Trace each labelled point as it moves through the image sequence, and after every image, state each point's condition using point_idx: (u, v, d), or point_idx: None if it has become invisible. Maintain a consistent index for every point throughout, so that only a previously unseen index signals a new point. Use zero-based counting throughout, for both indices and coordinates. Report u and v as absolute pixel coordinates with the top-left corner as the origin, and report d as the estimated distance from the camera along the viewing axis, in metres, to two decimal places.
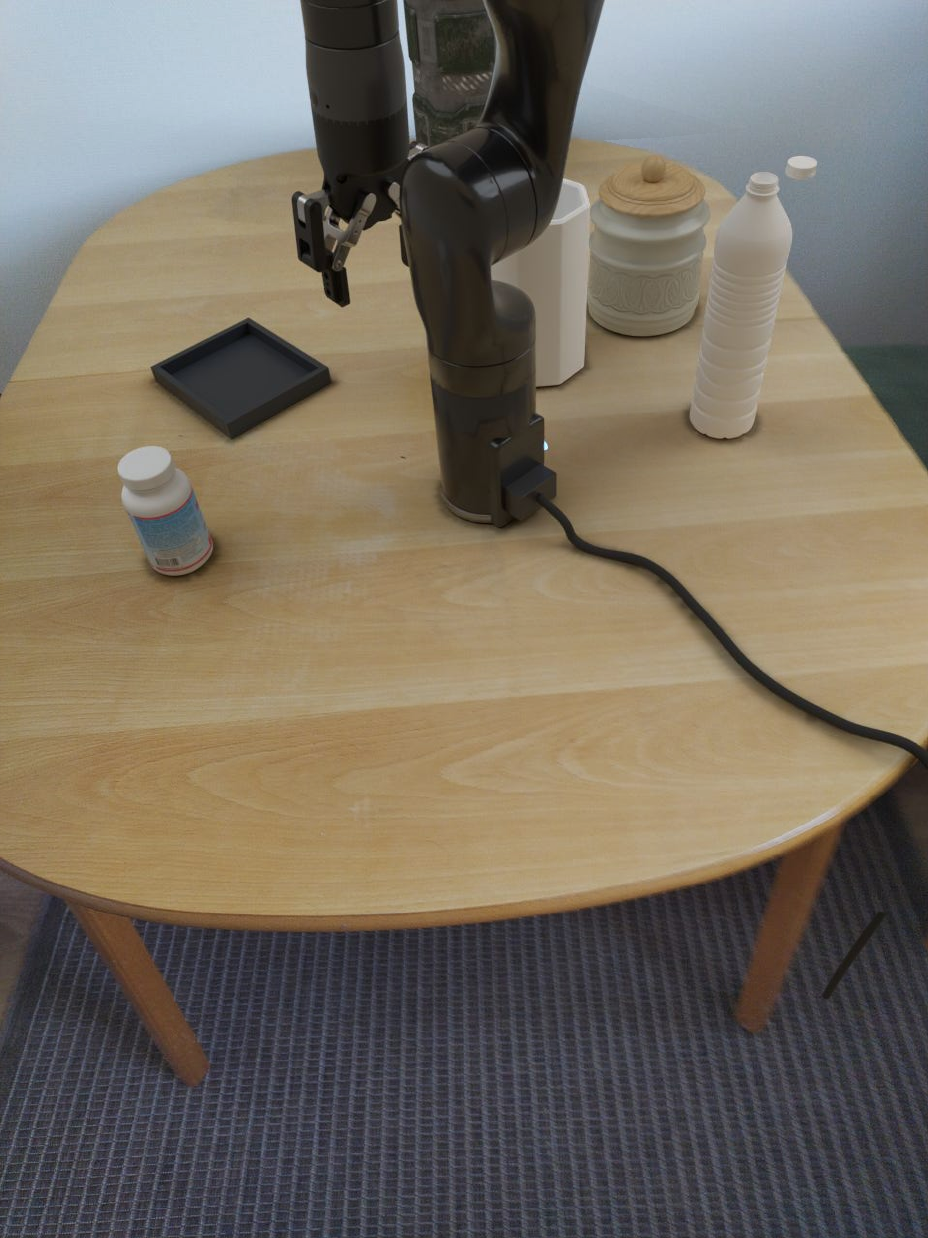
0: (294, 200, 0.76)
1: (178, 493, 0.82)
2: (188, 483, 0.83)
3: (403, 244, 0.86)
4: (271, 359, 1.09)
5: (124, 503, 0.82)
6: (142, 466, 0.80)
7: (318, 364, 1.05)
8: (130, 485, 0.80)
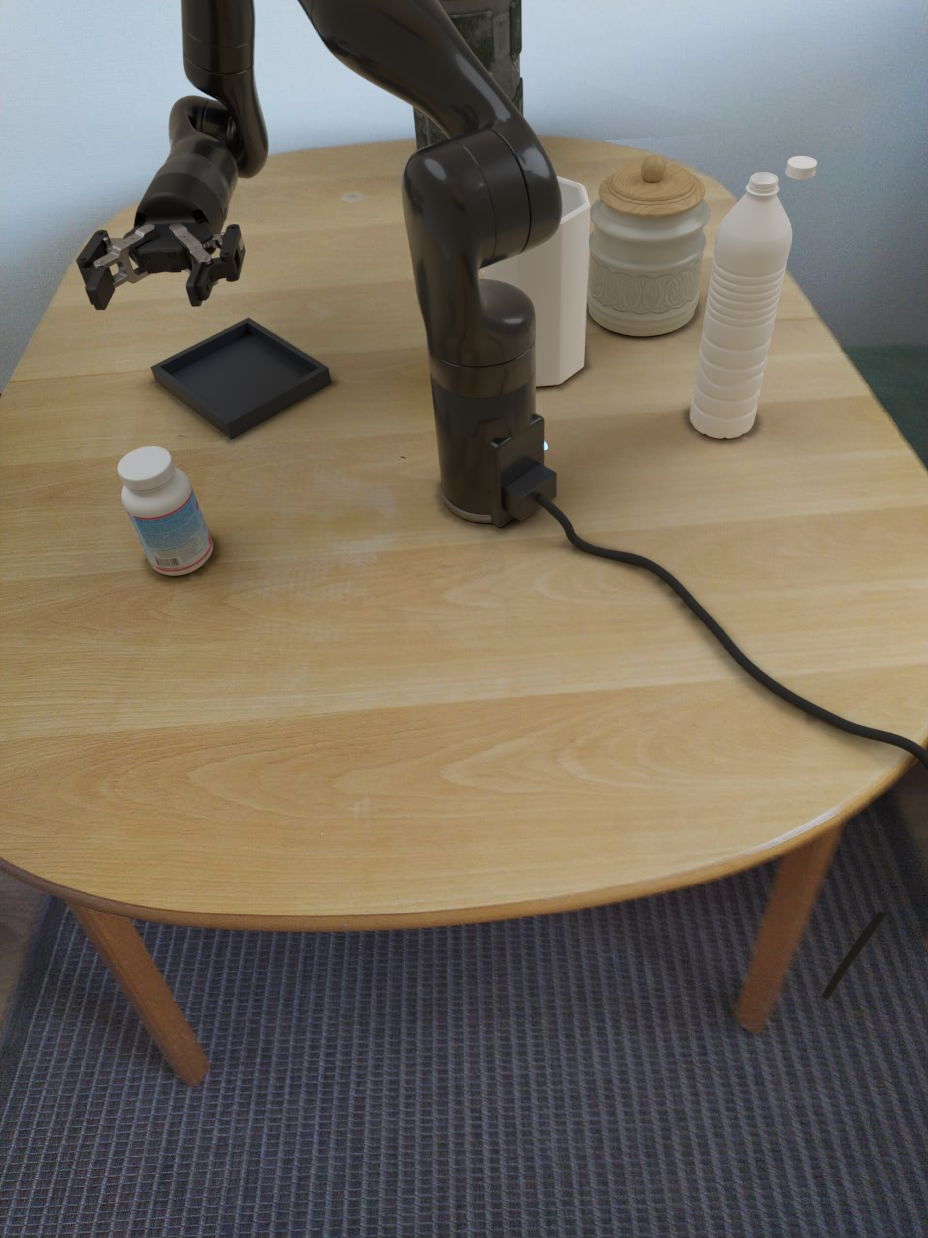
0: None
1: (178, 493, 0.82)
2: (188, 483, 0.83)
3: None
4: (271, 359, 1.09)
5: (124, 503, 0.82)
6: (142, 466, 0.80)
7: (318, 364, 1.05)
8: (130, 485, 0.80)
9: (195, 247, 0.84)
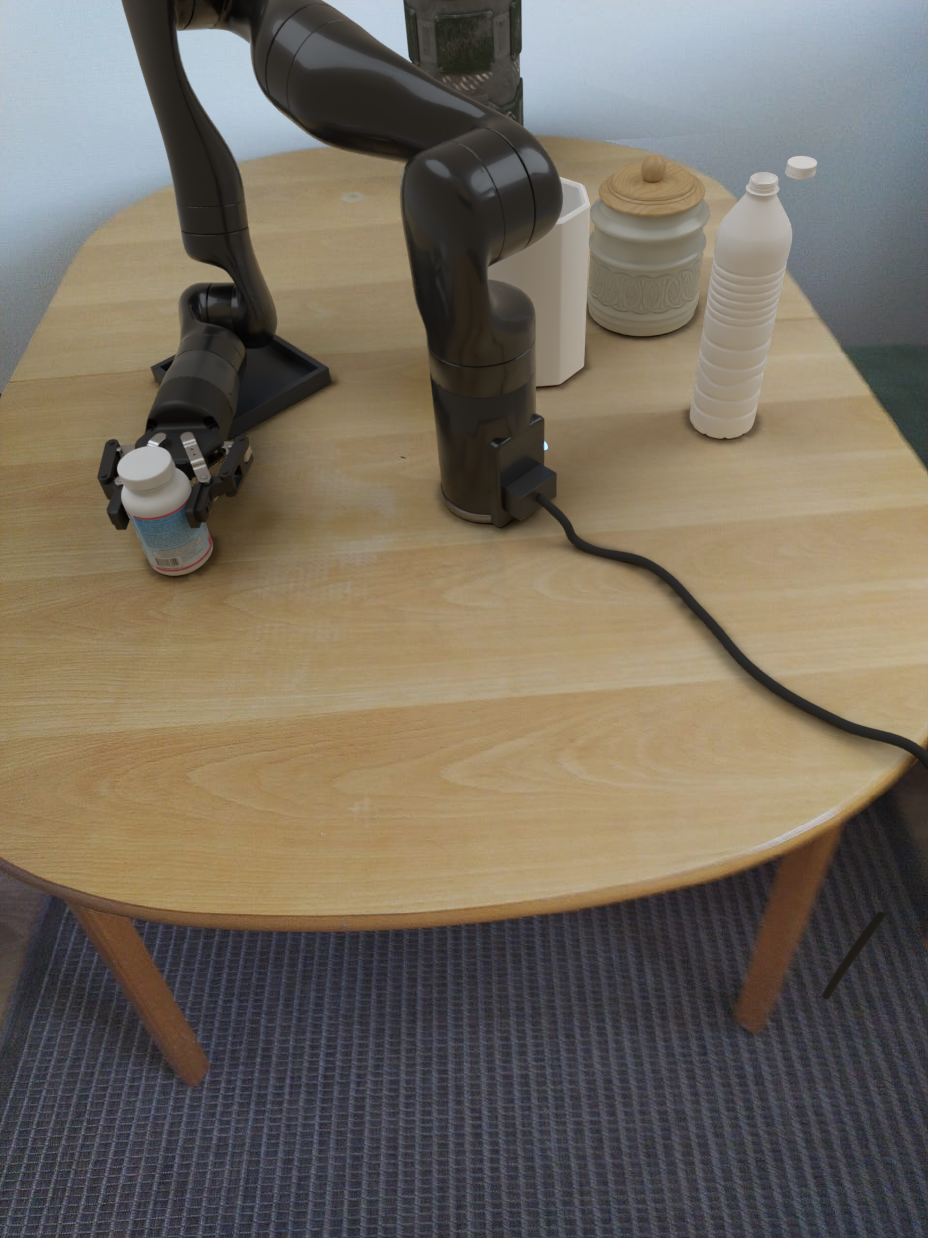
0: None
1: (177, 493, 0.82)
2: (188, 483, 0.83)
3: None
4: (271, 359, 1.09)
5: (124, 503, 0.82)
6: (142, 466, 0.80)
7: (318, 364, 1.05)
8: (130, 485, 0.80)
9: (198, 464, 0.85)
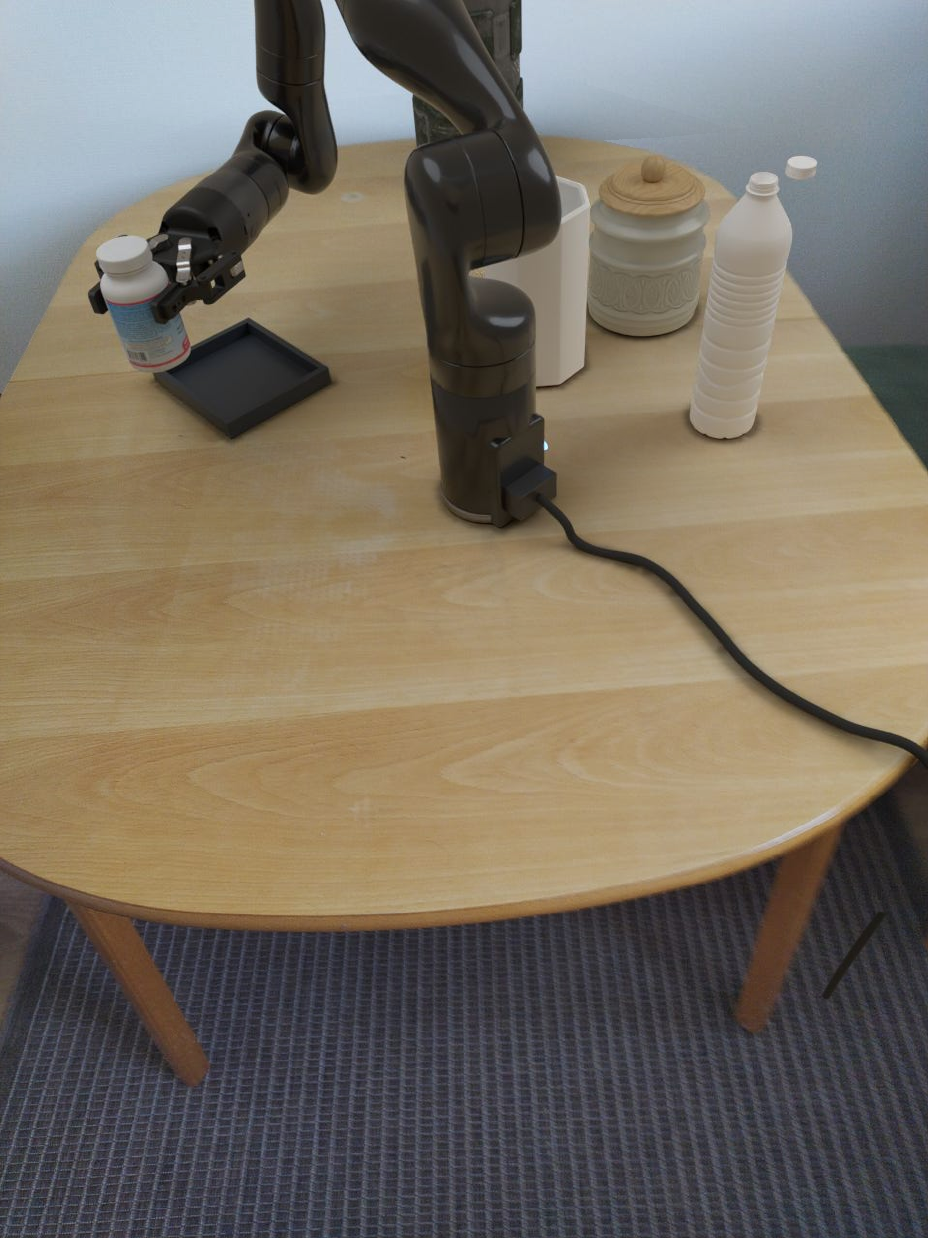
0: None
1: (147, 284, 0.84)
2: (163, 279, 0.85)
3: None
4: (271, 359, 1.09)
5: (100, 286, 0.85)
6: (118, 251, 0.83)
7: (318, 364, 1.05)
8: (102, 266, 0.83)
9: (183, 266, 0.87)
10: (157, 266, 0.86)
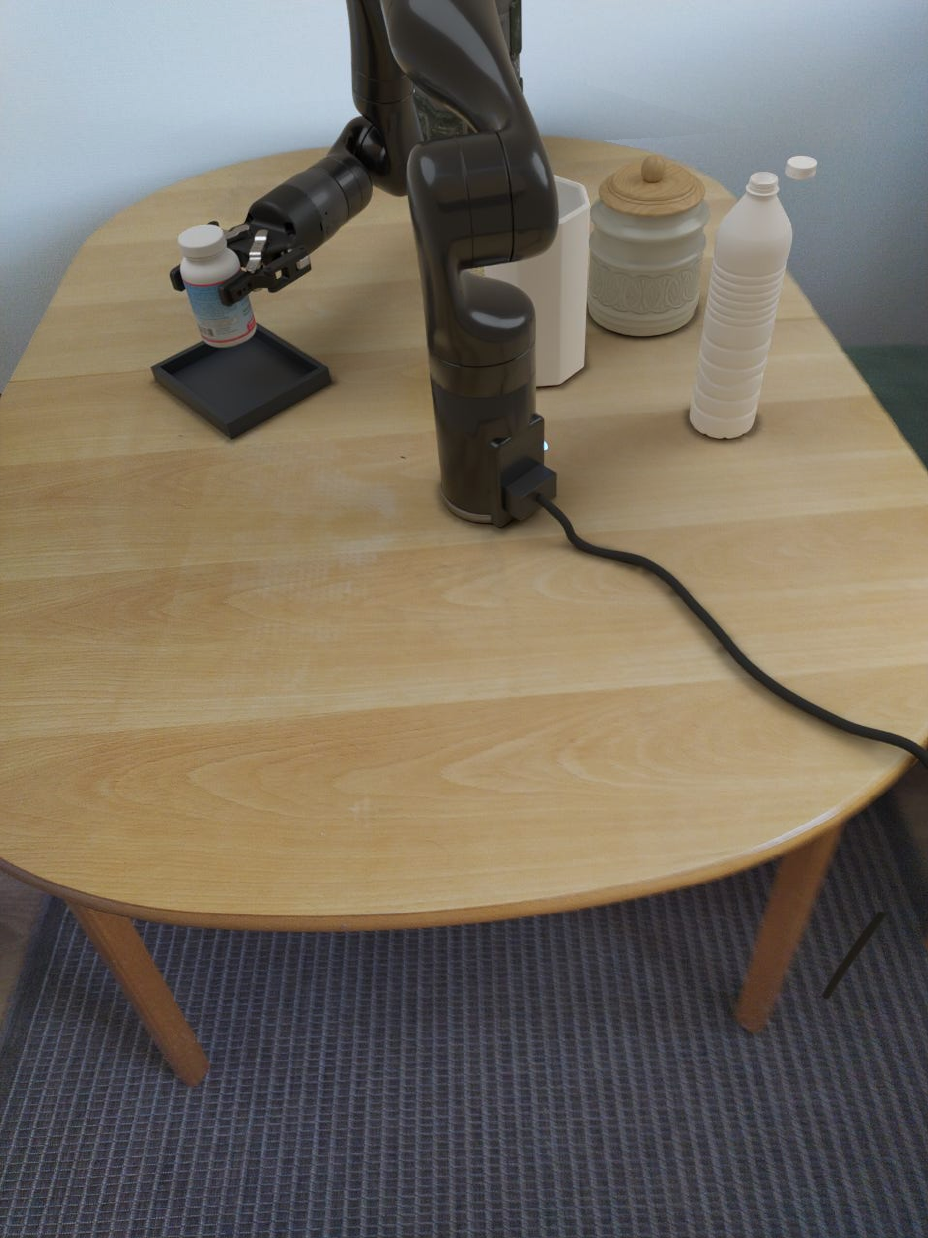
0: None
1: (218, 270, 0.95)
2: (233, 266, 0.96)
3: None
4: (271, 359, 1.09)
5: (180, 266, 0.96)
6: (197, 237, 0.94)
7: (318, 364, 1.05)
8: (181, 250, 0.94)
9: (254, 256, 0.97)
10: (230, 254, 0.96)
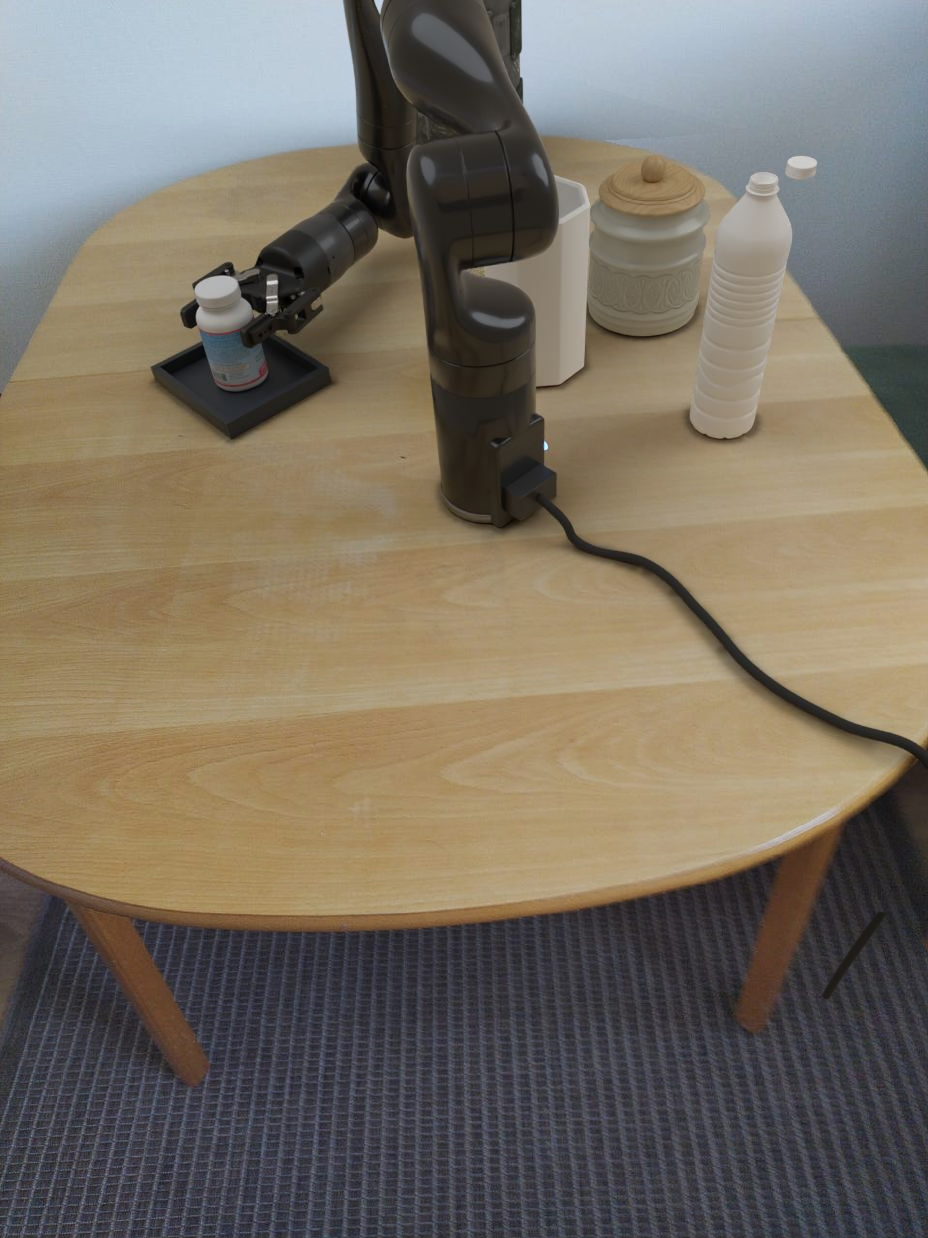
0: None
1: (232, 319, 0.99)
2: (247, 315, 1.00)
3: None
4: (271, 359, 1.09)
5: (196, 315, 1.01)
6: (213, 288, 0.98)
7: (318, 364, 1.05)
8: (198, 300, 0.98)
9: (272, 299, 1.01)
10: (244, 304, 1.00)
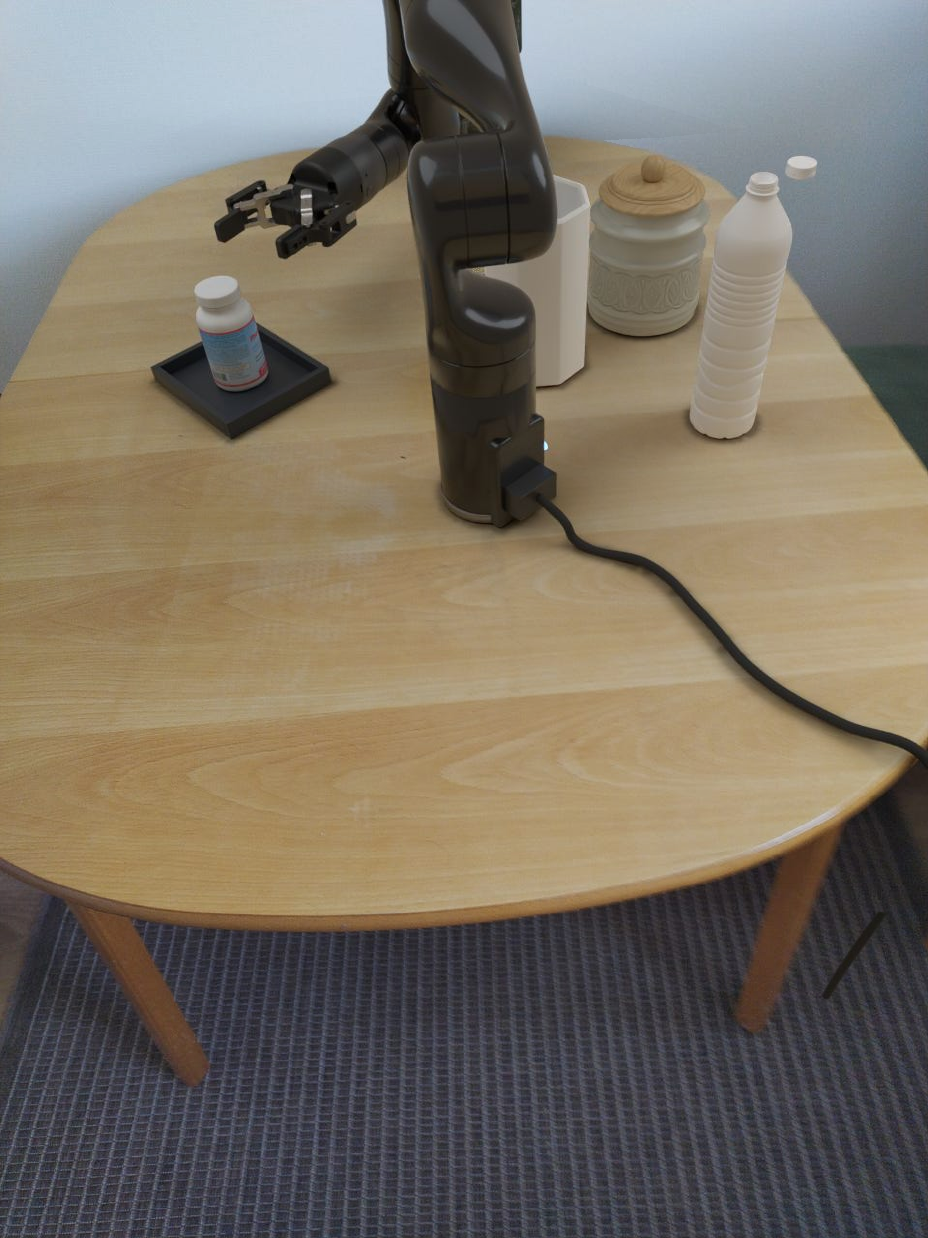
0: None
1: (232, 319, 0.99)
2: (247, 315, 1.00)
3: None
4: (271, 359, 1.09)
5: (196, 315, 1.01)
6: (213, 288, 0.98)
7: (318, 364, 1.05)
8: (198, 300, 0.98)
9: (306, 211, 1.01)
10: (244, 304, 1.00)
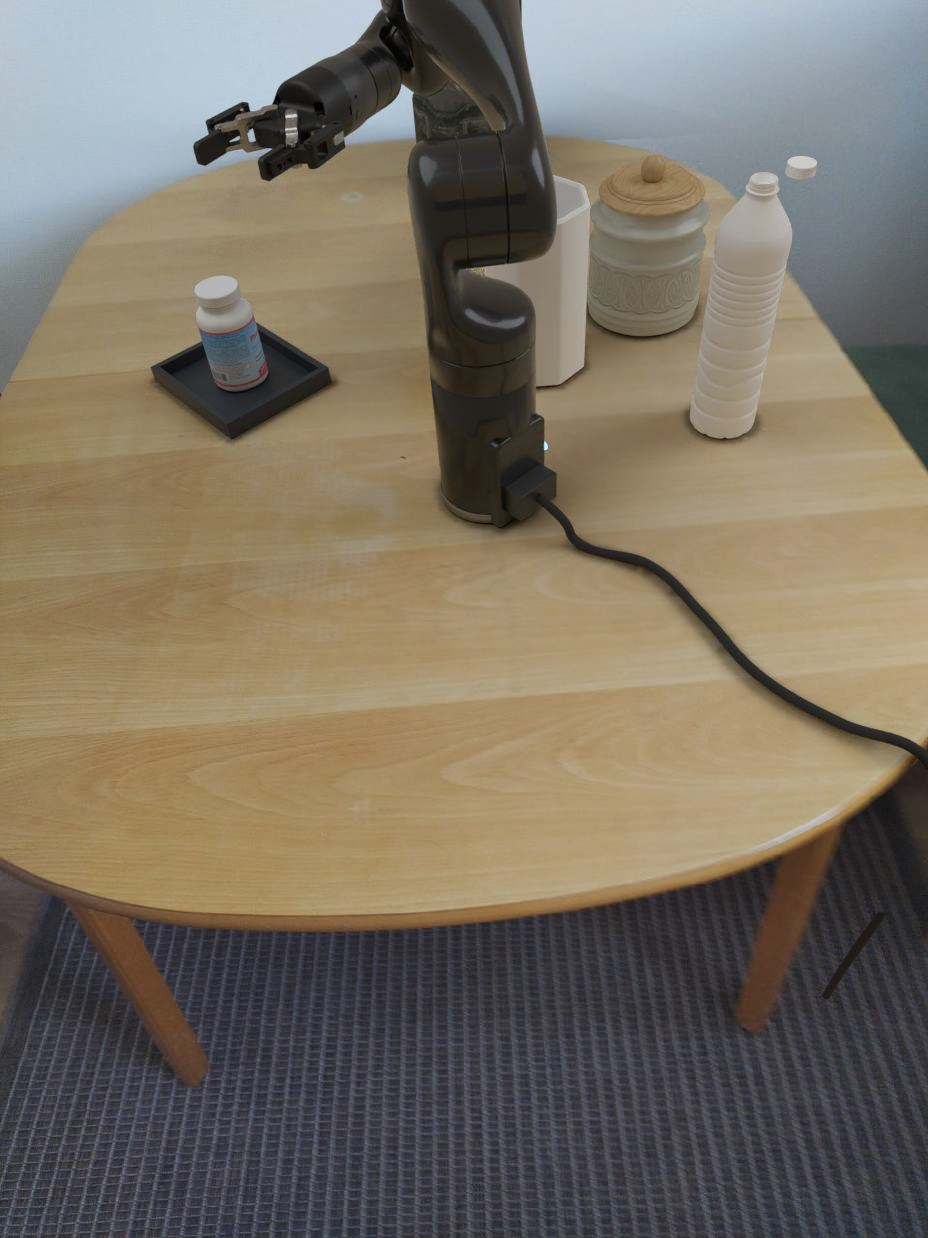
0: None
1: (232, 319, 0.99)
2: (247, 315, 1.00)
3: None
4: (271, 359, 1.09)
5: None
6: (212, 288, 0.98)
7: (318, 364, 1.05)
8: (198, 300, 0.98)
9: (291, 131, 0.95)
10: (244, 304, 1.00)
